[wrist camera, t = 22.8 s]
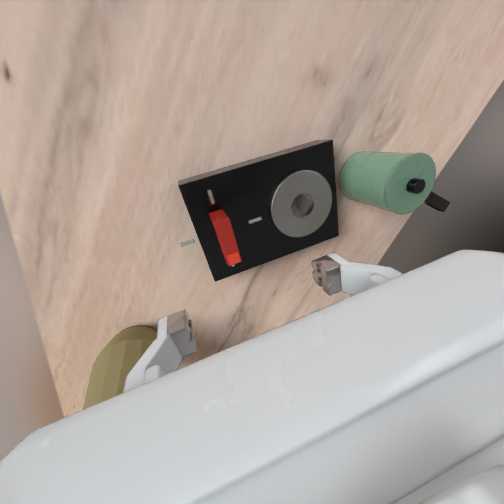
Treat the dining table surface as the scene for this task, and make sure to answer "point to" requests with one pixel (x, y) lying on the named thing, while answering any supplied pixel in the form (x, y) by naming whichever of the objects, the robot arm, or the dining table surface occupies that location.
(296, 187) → the burner
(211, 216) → the knob
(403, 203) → the saucepan
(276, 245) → the hob
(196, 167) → the dining table surface
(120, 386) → the squeeze bottle
